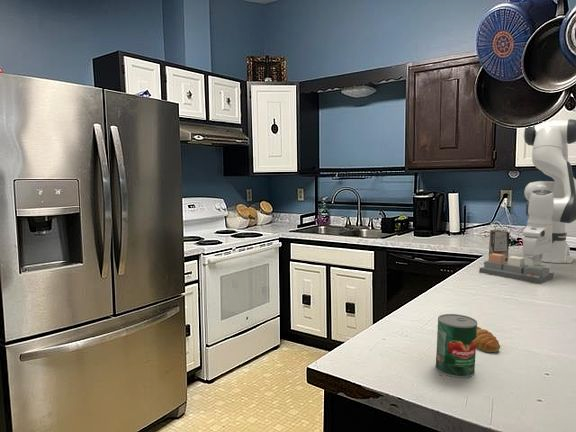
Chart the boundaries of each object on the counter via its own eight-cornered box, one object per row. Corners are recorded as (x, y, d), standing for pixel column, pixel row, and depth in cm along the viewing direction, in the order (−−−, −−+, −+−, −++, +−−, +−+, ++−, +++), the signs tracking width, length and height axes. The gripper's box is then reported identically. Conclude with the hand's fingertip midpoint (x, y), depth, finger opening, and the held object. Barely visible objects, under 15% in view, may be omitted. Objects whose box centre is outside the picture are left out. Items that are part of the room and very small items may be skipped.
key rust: (493, 261, 189) (494, 253, 189) (504, 262, 185) (505, 254, 185) (488, 262, 186) (488, 254, 186) (499, 264, 182) (500, 256, 182)
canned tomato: (461, 381, 87) (463, 329, 86) (428, 367, 93) (430, 318, 92) (482, 371, 92) (485, 321, 91) (449, 358, 98) (451, 311, 97)
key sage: (532, 271, 177) (532, 263, 177) (545, 274, 173) (545, 265, 173) (527, 273, 174) (528, 265, 174) (540, 275, 170) (541, 267, 170)
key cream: (512, 264, 183) (513, 255, 183) (524, 265, 179) (525, 257, 179) (507, 265, 180) (508, 257, 179) (519, 267, 176) (520, 259, 176)
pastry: (508, 353, 102) (508, 337, 101) (482, 355, 100) (483, 340, 100) (482, 338, 111) (483, 324, 110) (459, 340, 109) (459, 326, 109)
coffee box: (508, 267, 195) (510, 232, 194) (492, 266, 196) (494, 231, 195) (502, 263, 204) (504, 229, 202) (487, 262, 205) (489, 229, 204)
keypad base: (494, 268, 194) (494, 258, 193) (553, 278, 175) (554, 267, 175) (479, 272, 185) (479, 262, 184) (540, 283, 166) (540, 272, 166)
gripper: (540, 227, 181) (538, 259, 182) (520, 231, 168) (518, 266, 169) (557, 229, 176) (555, 262, 178) (538, 233, 163) (535, 269, 165)
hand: (537, 264), depth 173 cm, fingers closed
